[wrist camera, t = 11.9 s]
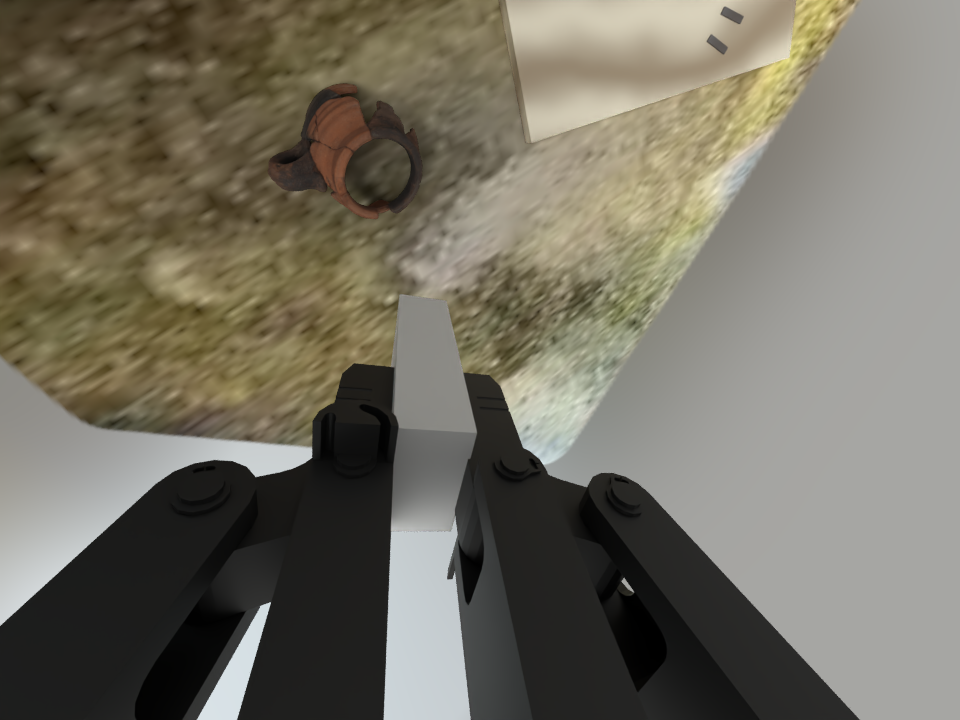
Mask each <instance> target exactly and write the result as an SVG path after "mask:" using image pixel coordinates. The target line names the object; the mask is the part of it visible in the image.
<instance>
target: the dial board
mask: <svg viewBox="0 0 960 720" xmlns="http://www.w3.org/2000/svg"><path fill="white" fill-rule="evenodd" d="M499 3H500V9H501V14H502V19H503V25H504V30H505V35H506V41H507V46H508V51H509V57H510V62H511V67H512V72H513V78H514V83H515V88H516V94H517V99H518V104H519V110H520V115H521V120H522V126H523V131H524V136H525V142H526V143H533V142H536V141H539V140H542V139H545V138H548V137H551V136H554V135H557V134H560V133H563V132H566V131H569V130H572V129H575V128H578V127H581V126H584V125H587V124H590V123H593V122H596V121H599V120H602V119H605V118H609V117H612V116H615V115H618V114H621V113H624V112H627V111H630V110H633V109H636V108H639V107H642V106H645V105H648V104H651V103H654V102H657V101H660V100H663V99H666V98H669V97H672V96H675V95H678V94H681V93H684V92H687V91H690V90H693V89H696V88H699V87H702V86H705V85H708V84H711V83H714V82H717V81H720V80H723V79H726V78H729V77H732V76H735V75H738V74H741V73H744V72H747V71H750V70H753V69H756V68H759V67H762V66H765V65H768V64H771V63H774V62H777V61H780V60H783V59H786V58H789V55H790V47H791V39H792V31H793V22H794V14H795V6H796V0H499Z"/></svg>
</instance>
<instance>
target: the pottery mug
mask: <svg viewBox="0 0 960 720" xmlns="http://www.w3.org/2000/svg"><path fill="white" fill-rule="evenodd" d="M352 93H357V87H356V86H355V85H351V84H347V83H346V84H336V85H332V86H330V87H327V88H326V89H324V90H322V91H320V92H319V93H318V94H317V95H316V96H315V97H314V99H313V100H312V102H311V103H310V105H309V107H308V110H307V113H306V118H305V122H304V125H303V130H302V132H301V137H302V140H301V141H300V142H299V143H298V144H297V145H296V146H295V147H294V148H292V149H291V150H287V151H284V152H281V153H279V154H277V155H275V156H273V157H272V158H271V159H270V160H269V169H268V174H269V175H270V177H271V179H272V180H273V181H275V182H276V184H277V185H278V186H280V187H281V188H282V189H284V190H288V191H303V190H307V189H316V190H318V191H322V192H325V191H326V190H327V185H328V186H329V187H330V188H332V189H333V192H332V193H331V196H332V197H333V198H334V199H336V200H337V201H338V202H339V203H341V204H343V205H344V206H345V207H347V208H348V209H349V210H351V211H352V212H353V213H355V214H357V215H359V216H362V217H364V218H370V219H378V213H383V212H386V211H388V210H391V211H392V212H393V213H399V212H401V211H402V210H403V209H404V208H405V207H407V205H408V204H409V203H410V202H411V201H412V200H413V198H414V197H415V195H416V193H417V191H418V189H419V184H420V182H421V178H422V160H421V157H420V153H419V147H418V141H417V136H416V133H415V130H414V129H413V128H412V129H410V132H408V133H406V134H405V133H404V127H403V124H402V122H401V120H400V118H399V117H398V116H397V115H396V114H395V113H394V110H393V108H392V107H391V106H390V105H389V104H386V103H384V102H382V101H377V104H376V105H377V111H376V112H375V113H374V115H373V117H372V118H371V120H370V121H369V122H368V123H367V124H366V123H365V120H364V116H363V114H362V111H361V108H360V104H359V101H358V100H356V99H355V98H353V97H351V96H347V97H343V98H341V96H340V95H342V94H352ZM373 139H390V140H393V141H395V142H397V143H399V144H400V145H401V146H403V147H404V148H405V149H406V151H407V153H408V155H409V158H410V162H411V173H410V177H409V180H408V183H407V185H406V187H405V188H404V190H403V192H402V193H401V194H400V195H399V196H398V197H397V198H396V199H394V200H393V201H391V202H387V201H384V200H378V201H376V202H374V203H372V204H370V205H369V206H364V205H361V204H359V203H357V202H356V201H355V200H354V199H353V198H352V197H351V196H350V194H349V192H348V191H347V189H346V185H345V171H346V167H347V164H348V162H349V160H350V158H351V156H352V155H353V153H354V152H355V151H356V150H357V149H358V148H359V147H360V146H362V145H363V144H365V143H367V142H369V141H371V140H373ZM311 140H312V141H313V143H312V144H311Z"/></svg>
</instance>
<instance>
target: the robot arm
mask: <svg viewBox="0 0 960 720" xmlns="http://www.w3.org/2000/svg"><path fill="white" fill-rule="evenodd" d="M508 410H509V409H508V406H507V403H506V401H505V398H504V395H503V392H502V390H501V387H500V386H499V385H498V384H497V383H496V382H495V381H494V380H493V379H492V378H491V377H490V376H489V375H481V374H471V373H463V370H462V366H461V361H460V357H459V353H458V348H457V344H456V340H455V336H454V331H453V327H452V323H451V318H450V314H449V310H448V305H447V301H445V300H438V299H431V298H424V297H417V296H410V295H403V294H400V297H399V306H398V314H397V322H396V331H395V339H394V347H393V356H392V364H391V367H386V366H375V365H365V364H355V363H354V364H353V365H352V366H351V367H349V368H348V369H347V370H346V371H345V372H344V373H343V374H342V377H341V381H340V384H339V389H338V392H337V395H336V400H335V403H333V404H330V405H328V406H327V407H325V408H324V409H322V410H320V411H319V412H318V414H317V415H316V417H315V418H314V420H313V440H312V458H311V459H310V460H309V461H307V462H306V463H304V464H302V465H300V466H298V467H296V468H293V469H291V470H287V471H283V472H280V473H275V474H270V475H265V476H260V477H255V476H254V475H253V474H252V473H251V471H250V470H249V469H248V468H247V467H246V466H243V465H241V464H238V463H236V462H233V461H218V460H213V461H207V462H201V463H195V464H192V465H189V466H187V467H184V468H182V469H179V470H177V471H174V472H173V473H171V474H170V475H168V476H167V477H165V478H164V479H162V480H161V481H160V482H158V483H157V484H155V485H154V486H153V487H152V488H151V489H150V490H149V491H148V492H147V493H146V494H144V495H143V496H142V497H141V498H140V499H139V500H138V501H137V502H136V503H135V504H134V505H132V507H130V508H129V509H128V510H127V511H126V512H125V513H124V514H123V515H121V516H120V517H119V518H118V519H117V520H116V521H115V522H114V523H113V524H112V525H110V526H109V527H108V528H107V529H106V530H105V531H104V532H103V533H102V534H101V535H100V536H98V537H97V538H96V539H95V540H94V541H93V542H92V543H91V544H90V545H89V546H87V548H85V549H84V550H83V551H82V552H81V553H80V554H79V555H78V556H77V557H75V558H74V559H73V560H72V561H71V562H70V563H69V564H68V565H67V566H66V567H64V568H63V569H62V570H61V571H60V572H59V573H58V574H57V575H56V576H55V577H54V578H52V579H51V580H50V581H49V582H48V583H47V584H46V585H45V586H44V587H43V588H42V589H40V590H39V591H38V592H37V593H36V594H35V595H34V596H33V597H32V598H30V599H29V600H28V601H27V602H26V603H25V604H24V605H23V606H22V607H21V608H20V609H19V610H17V611H16V612H15V613H14V614H13V615H12V616H11V617H10V618H9V619H7V620H6V621H5V622H4V623H3V624H2V625H1V626H0V720H197V718H198V716H199V715H200V713H201V711H202V709H203V707H204V706H205V704H206V702H207V700H208V699H209V697H210V695H211V693H212V692H213V690H214V688H215V686H216V684H217V683H218V681H219V679H220V677H221V676H222V674H223V672H224V670H225V668H226V667H227V665H228V663H229V661H230V660H231V658H232V656H233V654H234V652H235V650H236V649H237V647H238V645H239V644H240V642H241V640H242V638H243V636H244V635H245V633H246V631H247V629H248V628H249V626H250V624H251V622H252V620H253V619H254V617H255V615H256V613H257V611H258V610H259V608H260V606H261V605H263V604H266V603H269V602H271V605H270V608H269V612H268V615H267V619H266V622H265V625H264V629H263V632H262V636H261V639H260V643H259V646H258V650H257V653H256V657H255V660H254V663H253V667H252V670H251V674H250V678H249V681H248V684H247V688H246V691H245V695H244V698H243V702H242V705H241V709H240V712H239V715H238V719H237V720H383V718H384V694H385V669H386V643H387V617H388V616H387V615H388V591H389V566H390V565H389V564H390V540H391V532H402V531H403V532H405V531H406V532H409V531H410V532H412V531H451V530H452V526H453V522H454V518H455V516H456V524H457V531H458V536H457V539H456V543H455V547H454V550H453V554H452V557H451V561H450V565H449V568H448V576H447V579H453V575H454V572H455V574H456V584H457V592H458V602H459V612H460V621H461V631H462V640H463V650H464V659H465V669H466V678H467V687H468V697H469V706H470V716H471V720H859V719H858V717H857V716H856V715H855V714H854V713H853V712H852V711H851V710H850V709H849V708H848V707H847V706H846V705H845V703H843V701H842V700H841V699H840V698H839V697H838V696H837V695H836V694H835V693H834V692H833V691H832V689H830V687H829V686H828V685H827V684H826V683H825V682H824V681H823V680H822V679H821V678H820V677H819V675H818V674H817V673H816V672H815V671H814V670H813V669H812V668H811V667H810V666H809V665H808V664H807V663H806V662H805V661H804V659H803V658H802V657H801V656H800V655H799V654H798V653H797V652H796V651H795V650H794V649H793V648H792V646H791V645H790V644H789V643H788V642H787V641H786V640H785V639H784V638H783V637H782V636H781V635H780V634H779V633H778V631H777V630H776V629H775V628H774V627H773V626H772V625H771V624H770V623H769V622H768V621H767V620H766V619H765V617H763V615H762V614H761V613H760V612H759V611H758V610H757V609H756V608H755V607H754V606H753V605H752V604H751V602H750V601H749V600H748V599H747V598H746V597H745V596H744V595H743V594H742V593H741V592H740V591H739V590H738V589H737V588H736V586H735V585H734V584H733V583H732V582H731V581H730V580H729V579H728V578H727V577H726V576H725V574H724V573H722V571H721V570H720V569H719V568H718V567H717V566H716V565H715V564H714V563H713V562H712V560H711V559H710V558H709V557H708V556H707V555H706V554H705V553H704V552H703V551H702V550H701V549H700V548H699V546H698V545H697V544H696V543H695V542H694V541H693V540H692V539H691V538H690V537H689V536H688V535H687V534H686V532H685V531H684V530H683V529H682V528H681V527H680V526H679V525H678V524H677V523H676V522H675V521H674V520H673V518H671V516H670V515H669V514H668V513H667V512H666V511H665V510H664V509H663V508H662V507H661V506H660V505H659V503H658V502H657V501H656V500H655V499H654V498H653V497H652V496H651V495H650V494H649V493H648V492H647V491H646V490H645V489H643V488H642V487H641V486H640V485H639V484H637V483H636V482H634V481H632V480H630V479H628V478H627V477H624V476H621V475H617V474H614V473H601V474H598V475H596V476H594V477H593V478H592V479H591V481H590V483H589V485H588V487H583V486H580V485H577V484H573V483H570V482H567V481H563V480H560V479H557V478H555V477H552V476H550V475H548V473H547V471H546V469H545V467H544V465H543V464H542V462H541V461H540V459H539V458H537V457H536V456H535V455H534V454H532V453H531V452H530V451H528V450H526V449H524V448H523V447H522V444H521V441H520V438H519V436H518V433H517V430H516V428H515V425H514V422H513V419H512V417H511V414H510V412H509V411H508ZM623 578H625V579H626V581H627V582H628V584H629V585H630V586H631V588H632V589H633V591H634V593H633V592H632V591H630V590H628V589H627V588H626V587H625V585H624V584H623V583H622V582H621V581H622V580H623Z"/></svg>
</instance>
